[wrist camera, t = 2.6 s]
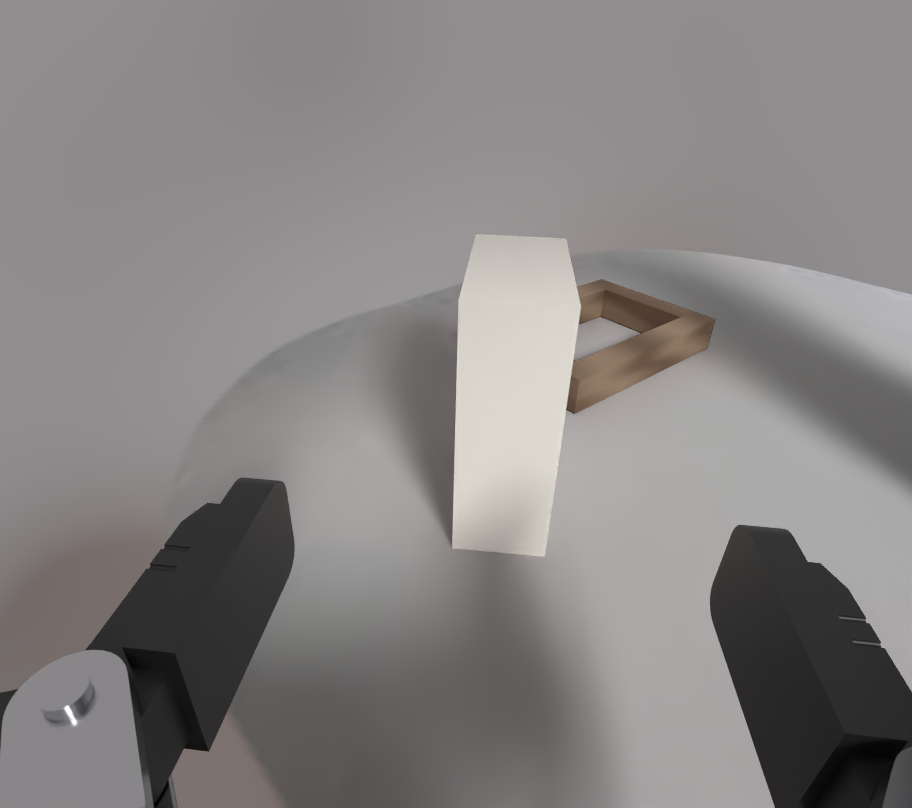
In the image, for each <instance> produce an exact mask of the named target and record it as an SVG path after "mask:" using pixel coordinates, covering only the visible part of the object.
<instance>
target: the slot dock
mask: <svg viewBox="0 0 912 808" xmlns="http://www.w3.org/2000/svg"><path fill="white" fill-rule="evenodd" d="M577 290H578V295H579V299H580V304H581V311H580V317H579V324H581V323H583V322H586V321H589V320H592V319H594V318H597V317H600V316H601V317H604V318H606V319H609V320H611V321H614V322H616V323H619V324H621V325H624V326H626V327H629V328H631V329H634V330H636V331H639V332H641V333H642V334H640V335H637V336H635V337H633V338H630V339H628V340H625V341H623V342H621V343H618V344H616V345H613V346H611V347H609V348H606V349H604V350H602V351H599V352H597V353H594V354H592V355H590V356H587V357H585V358H582V359H580V360H578V361H575V360H573V366H572V373H571V379H570V386H569V393H568V400H567V407H566V409H567V410H569V411H571V412H573V413H574V414H575V413H577V412H579V411H581V410H583V409H585V408H587V407H589V406H591V405H593V404H595V403H597V402H599V401H601V400H603V399H605V398H607V397H609V396H611V395H613V394H615V393H617V392H619V391H621V390H623V389H625V388H627V387H629V386H631V385H633V384H635V383H637V382H639V381H642V380H644V379H646V378H648V377H650V376H652V375H654V374H656V373H658V372H660V371H662V370H664V369H666V368H668V367H670V366H672V365H674V364H676V363H678V362H680V361H682V360H684V359H686V358H688V357H690V356H692V355H694V354H696V353H698V352H700V351H702V350H704V349H706V348H708V345H709V341H710V338H711V334H712V330H713V327H714V323H715V320H716V319H714V318H711V317H708V316H705V315H702V314H699V313H696V312H694V311H691V310H688V309H685V308H682V307H679V306H676V305H674V304H671V303H668V302H665V301H662V300H659V299H656V298H653V297H651V296H648V295H645V294H642V293H639V292H636V291H633V290H631V289H628V288H625V287H622V286H619V285H616V284H613V283H611V282H608V281H605V280H602V279H601V280H598V281H595V282H592V283H588V284H585V285H582V286H579V287H577Z"/></svg>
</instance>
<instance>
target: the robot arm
mask: <svg viewBox="0 0 912 808" xmlns="http://www.w3.org/2000/svg"><path fill="white" fill-rule="evenodd" d="M293 559H294V537H293V530H292V524H291V517H290V510H289V504H288V497H287V491H286V487H285V484H284V483H283V482H282V481H275V480H264V479H253V478H240V479H238V480H237V481H236V482H235V483H234V485H233V486H232V487H231V489H230V490H229V492H228V493H227V495H226V496H225V498H224V499H223V501H222V502H221V504H213V503H207V504H205V505H204V506H203V507H201V508H200V509H198V510H197V511H196V512H194V513H193V514H191V515H190V516H189V517H187V518H186V519H185V520H183V521H182V522H181V523H180V525H179V526H178V527H177V529H176V530H175V531H174V533H173V534H172V535H171V537H170V538H169V539H168V541H167V542H166V543H165V547H164V549H161V550H160V551H159V553H158V554H157V555H156V557H155V558H154V559H153V561H152V562H151V563H150V568H149V569H146V570H145V572H144V573H143V574H142V576H141V577H140V578H139V580H138V581H137V582H136V584H135V585H134V586H133V588H132V589H131V591H130V592H129V593H128V595H127V596H126V597H125V599H124V600H123V601H122V603H121V604H120V605H119V606H118V608H117V609H116V611H115V612H114V613H113V615H112V616H111V617H110V619H109V620H108V621H107V623H106V624H105V625H104V627H103V628H102V629H101V631H100V632H99V633H98V635H97V636H96V637H95V639H94V640H93V641H92V643H91V644H90V645H89V646H88V648H87V649H86V650H85V651H81V652H76V653H73V654H70V655H67V656H64V657H62V658H60V659H57V660H55V661H54V662H52V663H50V664H48V665H46V666H45V667H43V668H42V669H40V670H39V671H38V672H36V673H35V674H34V675H32V676H31V677H30V678H29V679H28V680H27V681H26V682H25V683H24V684H23V685H22V686H21V687H20V688H19V689H17V690H12V691H8V692H3V693H0V808H178V806H177V800H176V795H175V789H174V783H173V779H172V775H171V773H172V771H173V769H174V767H175V765H176V763H177V761H178V759H179V757H180V755H181V753H182V751H183V749H184V748H185V749H193V750H201V751H209V750H210V748H211V746H212V743H213V741H214V739H215V737H216V735H217V732H218V730H219V728H220V726H221V724H222V722H223V719H224V717H225V715H226V713H227V711H228V708H229V706H230V704H231V702H232V700H233V697H234V695H235V693H236V691H237V689H238V686H239V684H240V682H241V680H242V678H243V676H244V673H245V671H246V669H247V667H248V665H249V662H250V660H251V658H252V656H253V654H254V651H255V649H256V647H257V645H258V643H259V641H260V638H261V636H262V634H263V632H264V630H265V627H266V625H267V623H268V621H269V619H270V616H271V614H272V612H273V610H274V608H275V606H276V603H277V601H278V599H279V597H280V595H281V592H282V590H283V588H284V586H285V584H286V581H287V579H288V577H289V574H290V572H291V568H292V564H293ZM710 610H711V617H712V621H713V624H714V627H715V630H716V633H717V636H718V639H719V642H720V645H721V648H722V651H723V654H724V657H725V660H726V663H727V666H728V669H729V672H730V675H731V678H732V681H733V684H734V687H735V690H736V693H737V696H738V699H739V702H740V705H741V708H742V711H743V714H744V717H745V720H746V723H747V726H748V728H749V731H750V734H751V737H752V740H753V743H754V746H755V749H756V752H757V755H758V758H759V761H760V764H761V767H762V770H763V773H764V776H765V779H766V782H767V785H768V788H769V791H770V794H771V797H772V800H773V803H774V806H775V808H912V692H911V690H910V689H909V687H908V685H907V684H906V682H905V681H904V679H903V677H902V676H901V674H900V672H899V671H898V669H897V668H896V666H895V664H894V663H893V661H892V659H891V658H890V656H889V655H888V653H887V651H886V650H885V648H881V646H880V643H881V642H880V640H879V638H878V637H877V635H876V633H875V632H874V630H873V629H872V627H871V625H870V624H869V623H866V621H865V619H866V617H865V615H864V614H863V612H862V611H861V609H860V607H859V606H858V604H857V602H856V601H855V599H854V598H853V596H852V594H851V593H850V591H849V589H848V588H847V587H846V586H844V585H843V584H842V583H841V582H840V581H839V580H838V579H837V578H836V577H835V576H834V575H832V574H831V573H830V572H829V571H828V570H827V569H826V568H825V567H824V566H823V565H822V564H820V563H812V562H807V560H806V558H805V556H804V555H803V553H802V551H801V549H800V548H799V546H798V544H797V542H796V540H795V539H794V537H793V536H792V534H791V533H790V532H789V531H788V530H786V529H779V528H769V527H758V526H747V525H738V526H737V527H736V528H735V529H734V530H733V532H732V534H731V537H730V539H729V542H728V545H727V547H726V550H725V553H724V555H723V558H722V561H721V563H720V566H719V569H718V571H717V574H716V576H715V579H714V582H713V585H712V588H711V595H710Z"/></svg>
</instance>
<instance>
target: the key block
mask: <svg viewBox="0 0 912 808" xmlns="http://www.w3.org/2000/svg"><path fill="white" fill-rule="evenodd" d="M580 311H581V304H580V299H579V295H578V290H577V286H576V281H575V277H574V272H573V268H572V263H571V259H570V254H569V250H568V245H567V240H566V238H545V237H526V236H504V235H486V234H476V236H475V240H474V244H473V247H472V251H471V255H470V259H469V263H468V266H467V270H466V274H465V277H464V281H463V285H462V289H461V292H460V296H459V305H458V343H457V382H456V420H455V458H454V497H453V535H452V548H454V549H465V550H476V551H487V552H498V553H509V554H520V555H531V556H542V557H545V552H546V545H547V538H548V531H549V524H550V517H551V510H552V504H553V497H554V490H555V483H556V476H557V469H558V462H559V455H560V448H561V441H562V435H563V428H564V421H565V414H566V407H567V400H568V393H569V386H570V379H571V373H572V366H573V359H574V352H575V345H576V338H577V331H578V324H579V317H580Z"/></svg>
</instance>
